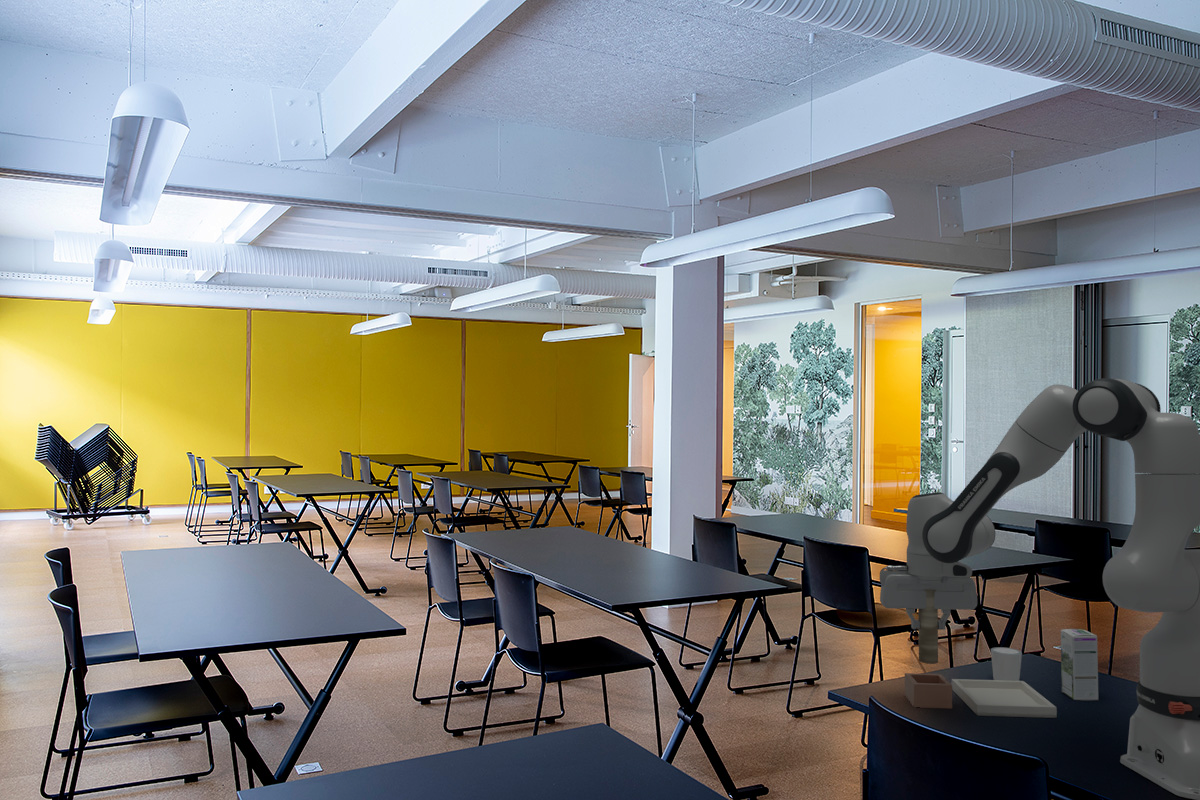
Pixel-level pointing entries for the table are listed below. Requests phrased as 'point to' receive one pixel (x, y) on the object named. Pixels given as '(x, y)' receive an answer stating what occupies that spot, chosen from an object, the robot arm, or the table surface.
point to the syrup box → (1079, 664)
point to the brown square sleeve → (928, 690)
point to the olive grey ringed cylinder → (928, 631)
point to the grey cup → (1006, 663)
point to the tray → (1003, 698)
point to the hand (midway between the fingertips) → (928, 628)
